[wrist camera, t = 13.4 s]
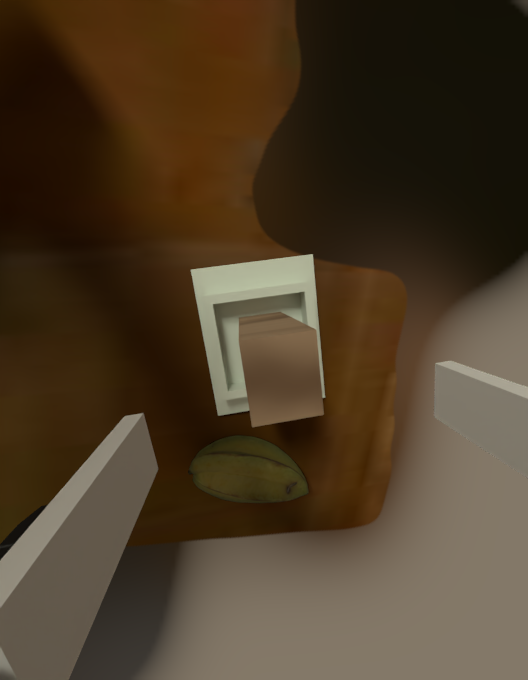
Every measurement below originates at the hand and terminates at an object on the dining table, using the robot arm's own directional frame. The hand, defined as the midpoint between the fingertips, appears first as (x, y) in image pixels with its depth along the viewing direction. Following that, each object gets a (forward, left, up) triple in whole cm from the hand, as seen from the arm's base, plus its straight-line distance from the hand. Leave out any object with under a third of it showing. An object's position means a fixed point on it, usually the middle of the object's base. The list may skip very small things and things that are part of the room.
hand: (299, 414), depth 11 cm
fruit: (+16, -4, -20) cm, 26 cm away
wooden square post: (0, 0, -19) cm, 19 cm away
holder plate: (0, 0, -20) cm, 20 cm away
